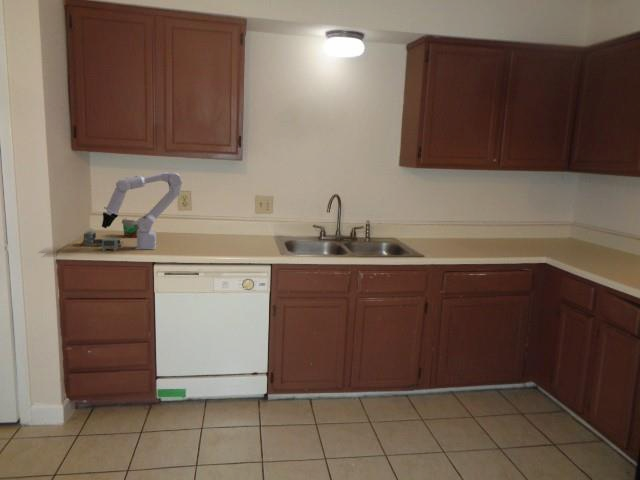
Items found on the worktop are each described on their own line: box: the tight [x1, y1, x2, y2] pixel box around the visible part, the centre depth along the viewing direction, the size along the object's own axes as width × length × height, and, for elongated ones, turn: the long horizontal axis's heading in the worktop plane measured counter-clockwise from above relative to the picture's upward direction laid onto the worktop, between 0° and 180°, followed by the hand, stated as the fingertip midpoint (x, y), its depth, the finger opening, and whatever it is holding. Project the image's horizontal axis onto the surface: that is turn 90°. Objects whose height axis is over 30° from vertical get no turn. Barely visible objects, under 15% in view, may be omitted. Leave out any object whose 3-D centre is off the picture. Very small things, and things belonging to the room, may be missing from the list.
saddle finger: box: [101, 237, 119, 252], centre depth 248 cm, size 4×6×6 cm
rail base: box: [79, 230, 125, 248], centre depth 258 cm, size 20×8×6 cm, turn 102°
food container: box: [121, 217, 139, 239], centre depth 280 cm, size 12×6×10 cm, turn 62°
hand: (105, 226), depth 247 cm, fingers open, 7 cm apart
